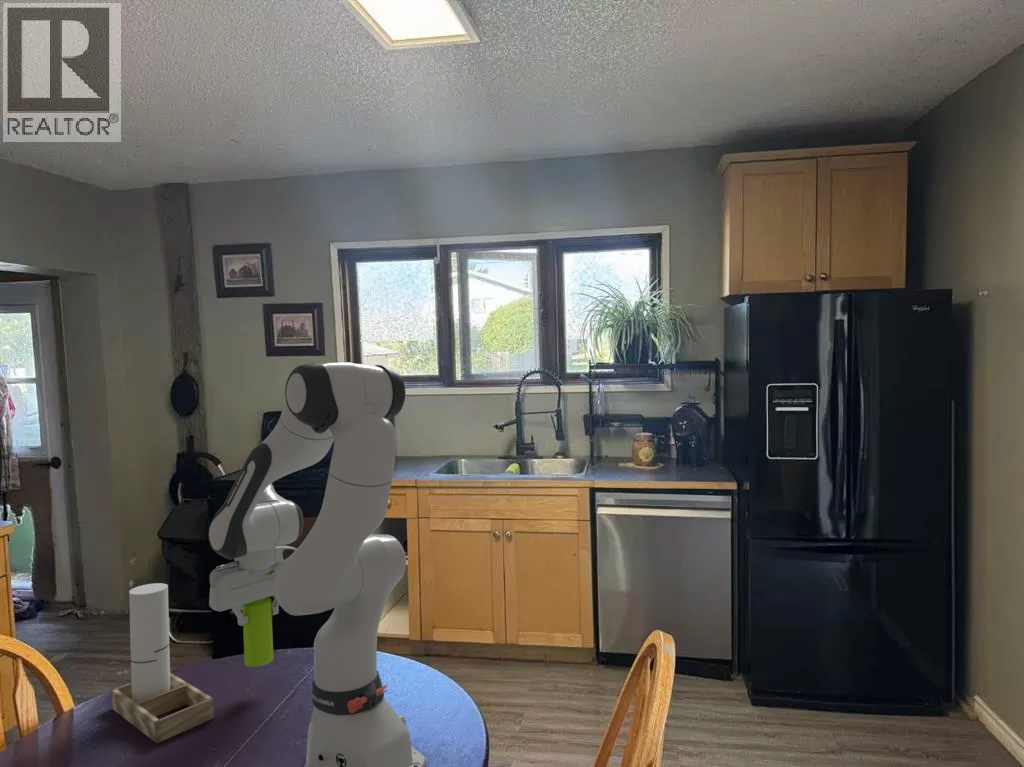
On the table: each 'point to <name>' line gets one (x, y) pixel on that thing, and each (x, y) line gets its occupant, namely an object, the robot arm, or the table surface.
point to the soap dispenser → (258, 632)
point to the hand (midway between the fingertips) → (258, 619)
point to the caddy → (164, 709)
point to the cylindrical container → (149, 641)
